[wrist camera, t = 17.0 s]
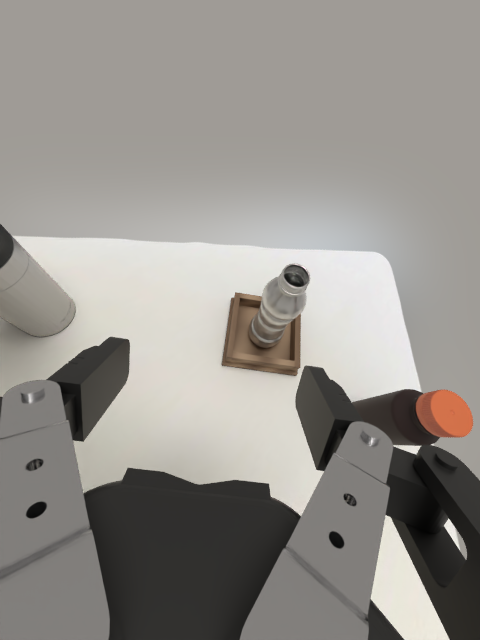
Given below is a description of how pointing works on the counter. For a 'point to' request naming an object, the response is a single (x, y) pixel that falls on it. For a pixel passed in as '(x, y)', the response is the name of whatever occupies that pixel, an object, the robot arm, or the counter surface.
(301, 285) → the silver metal bottle
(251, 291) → the counter surface
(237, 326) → the square wooden tray
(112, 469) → the counter surface
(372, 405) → the vinegar
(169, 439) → the counter surface
